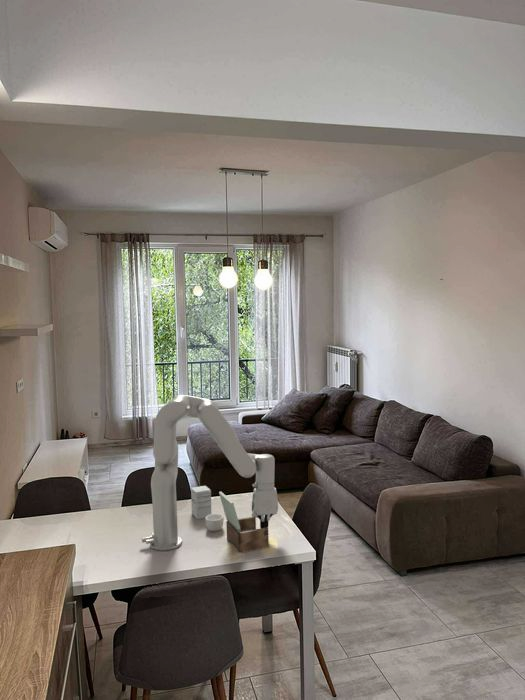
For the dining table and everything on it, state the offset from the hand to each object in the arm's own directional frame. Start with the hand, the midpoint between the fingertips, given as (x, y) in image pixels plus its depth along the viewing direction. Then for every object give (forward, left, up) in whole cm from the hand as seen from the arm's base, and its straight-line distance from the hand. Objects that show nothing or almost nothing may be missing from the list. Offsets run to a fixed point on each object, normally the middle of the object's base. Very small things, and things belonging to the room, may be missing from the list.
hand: (264, 529), depth 223 cm
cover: (-14, 0, +10) cm, 17 cm away
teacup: (-15, +20, -4) cm, 25 cm away
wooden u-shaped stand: (-8, 0, -4) cm, 9 cm away
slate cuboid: (-7, +1, -4) cm, 8 cm away
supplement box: (-16, +37, -4) cm, 40 cm away
